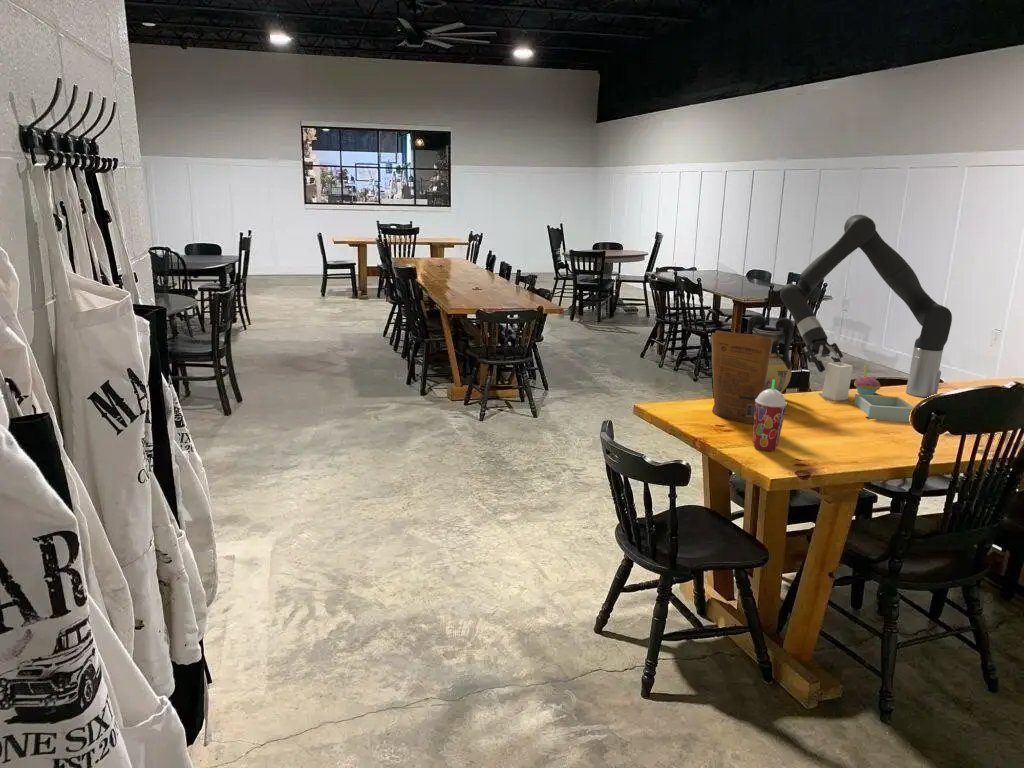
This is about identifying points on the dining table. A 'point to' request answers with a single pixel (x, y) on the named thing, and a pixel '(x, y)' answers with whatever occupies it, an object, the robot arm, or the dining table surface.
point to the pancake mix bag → (738, 373)
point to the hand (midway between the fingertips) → (832, 370)
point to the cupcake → (866, 385)
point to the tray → (883, 407)
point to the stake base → (834, 400)
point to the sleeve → (837, 381)
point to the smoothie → (768, 419)
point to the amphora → (775, 349)
